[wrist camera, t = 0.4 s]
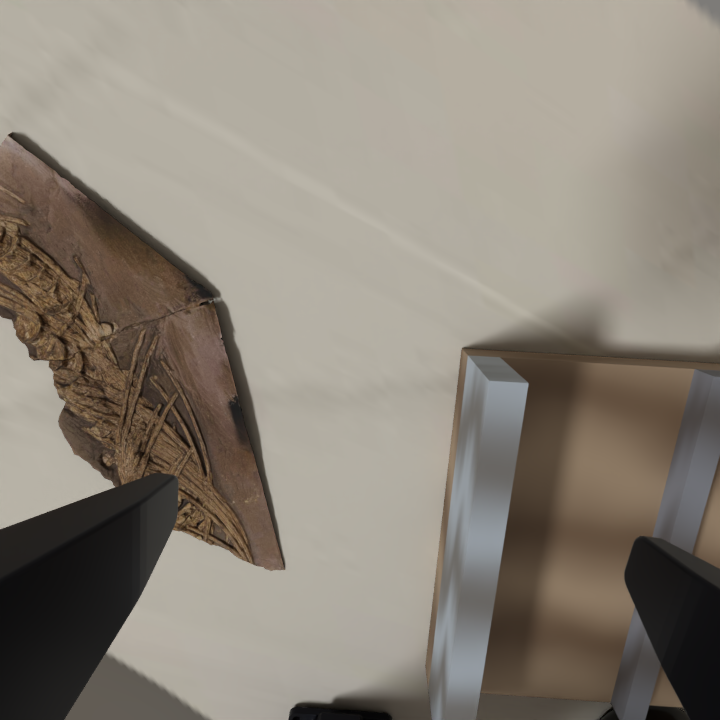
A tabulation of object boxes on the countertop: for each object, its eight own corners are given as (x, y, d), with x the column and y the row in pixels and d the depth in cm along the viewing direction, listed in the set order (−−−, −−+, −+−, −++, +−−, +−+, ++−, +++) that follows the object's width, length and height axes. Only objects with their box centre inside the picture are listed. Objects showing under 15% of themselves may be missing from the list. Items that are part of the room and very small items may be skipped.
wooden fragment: (-85, 191, 22) (-108, 189, 21) (108, 85, 20) (93, 76, 19) (181, 601, 27) (174, 615, 26) (345, 540, 26) (344, 552, 25)
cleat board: (689, 684, 27) (765, 791, 22) (425, 665, 27) (437, 767, 22) (786, 367, 22) (916, 406, 17) (461, 348, 22) (489, 380, 17)
